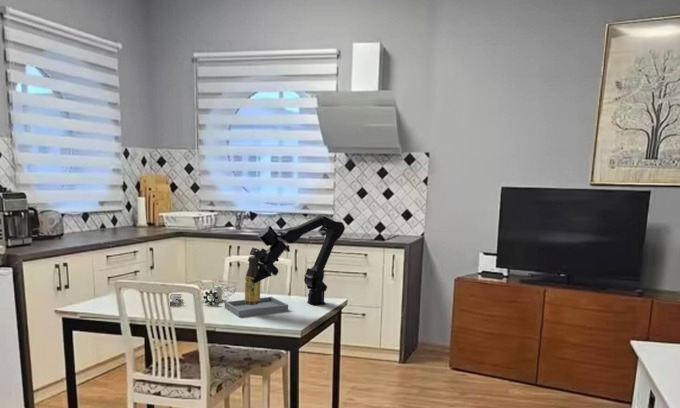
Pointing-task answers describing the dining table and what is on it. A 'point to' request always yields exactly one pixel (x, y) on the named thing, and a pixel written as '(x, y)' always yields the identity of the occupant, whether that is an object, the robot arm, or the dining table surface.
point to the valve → (214, 295)
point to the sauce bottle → (252, 288)
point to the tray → (256, 307)
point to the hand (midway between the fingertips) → (249, 281)
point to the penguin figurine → (175, 297)
